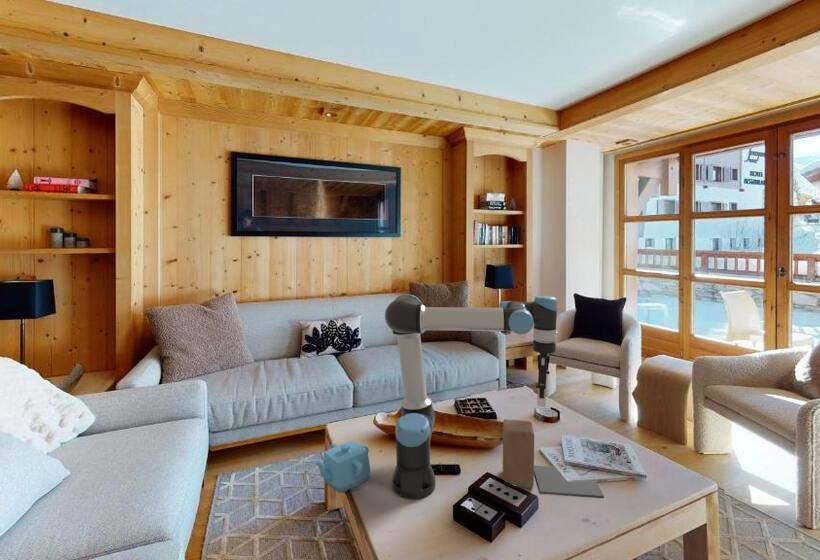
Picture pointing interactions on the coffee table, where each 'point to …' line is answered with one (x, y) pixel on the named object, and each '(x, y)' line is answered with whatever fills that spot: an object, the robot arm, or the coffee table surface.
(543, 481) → the mat
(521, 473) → the wooden block
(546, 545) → the coffee table surface
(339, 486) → the teapot
